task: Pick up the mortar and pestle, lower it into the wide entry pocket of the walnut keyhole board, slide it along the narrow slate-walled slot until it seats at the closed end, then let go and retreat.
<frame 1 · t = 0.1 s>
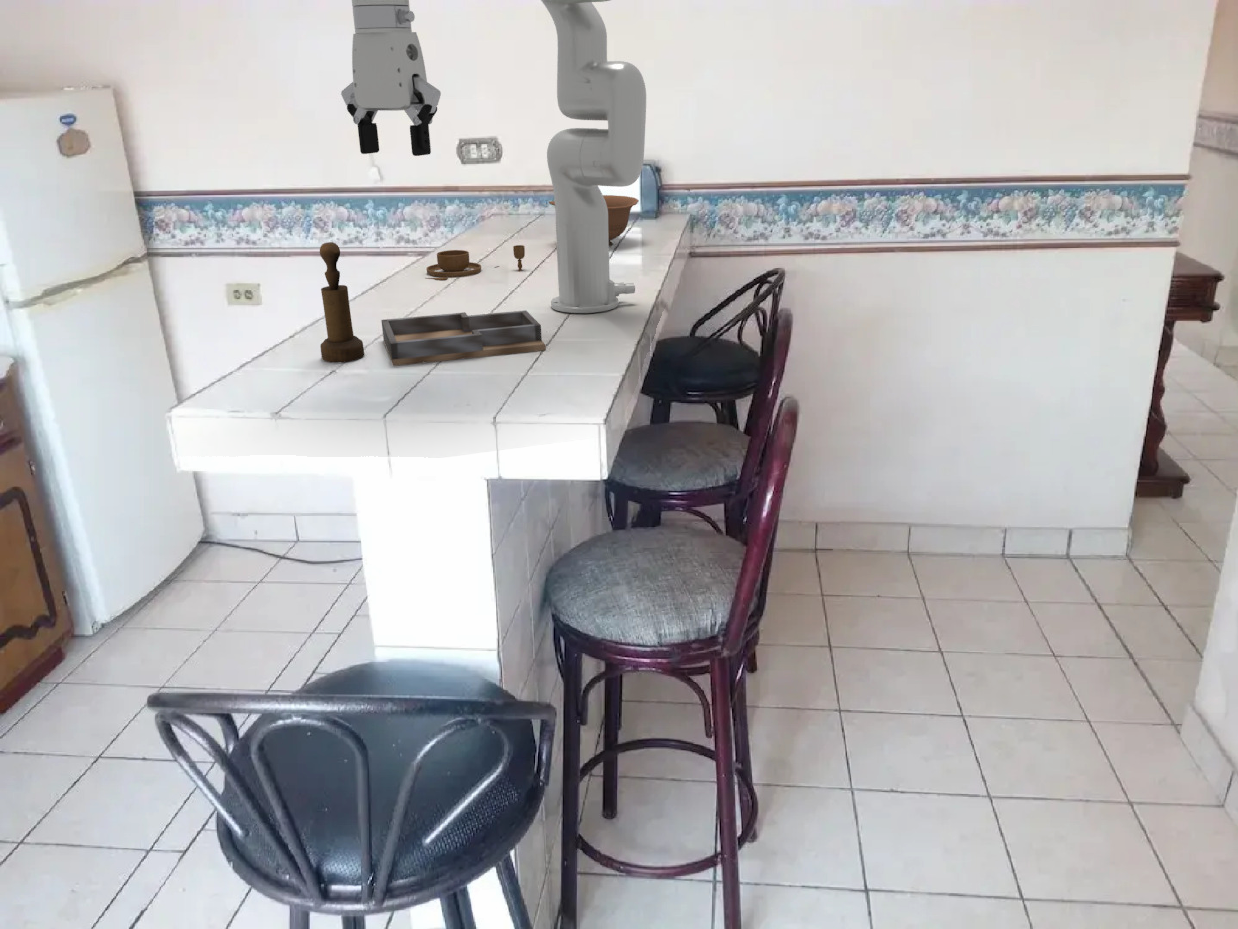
hand: (395, 153, 143), 31 cm above the countertop, tool pointing down, fingers open, 9 cm apart
place setting: (470, 276, 221), on the countertop
bowl: (594, 245, 251), on the countertop
keyhole board: (462, 345, 166), on the countertop
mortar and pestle: (343, 358, 161), on the countertop
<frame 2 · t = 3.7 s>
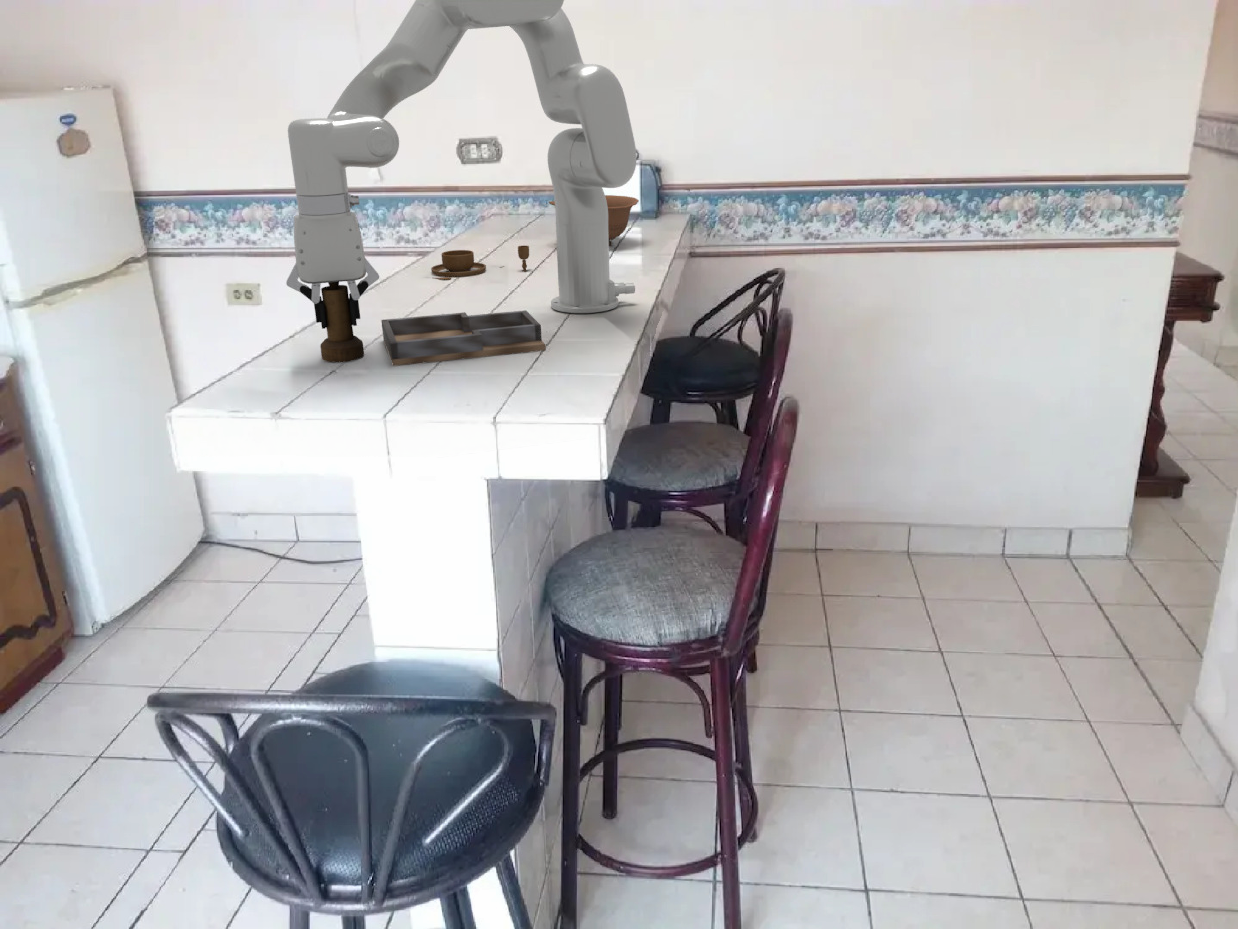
hand: (338, 324, 159), 5 cm above the countertop, tool pointing down, fingers closed on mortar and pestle, 4 cm apart
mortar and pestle: (343, 358, 161), on the countertop, touching gripper
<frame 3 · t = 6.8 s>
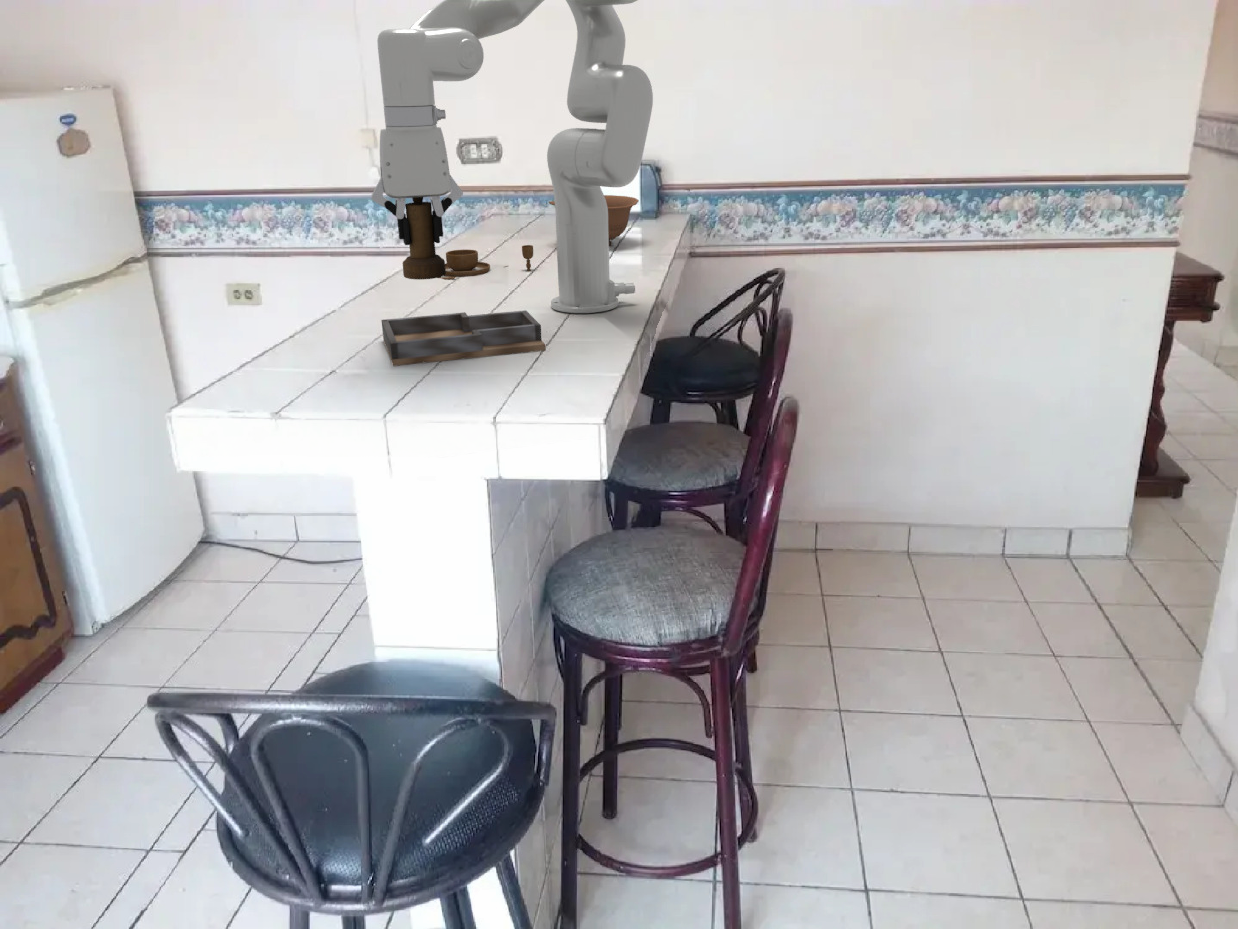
hand: (421, 241, 158), 17 cm above the countertop, tool pointing down, fingers closed on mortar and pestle, 4 cm apart
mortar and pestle: (424, 276, 160), point 12 cm above the countertop, touching gripper
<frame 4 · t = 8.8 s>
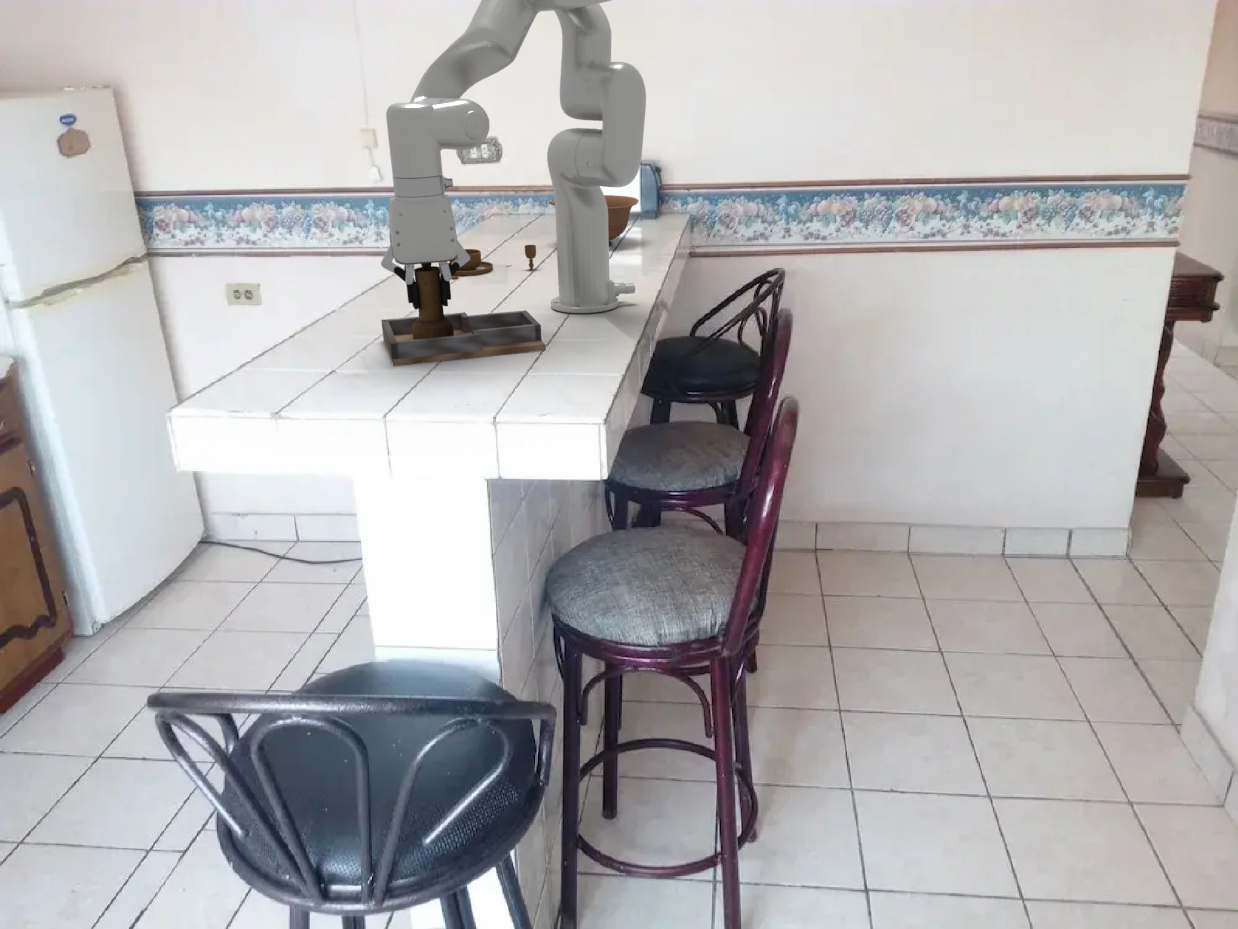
hand: (430, 304, 162), 7 cm above the countertop, tool pointing down, fingers closed on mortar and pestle, 4 cm apart
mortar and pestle: (433, 338, 164), point 2 cm above the countertop, touching gripper
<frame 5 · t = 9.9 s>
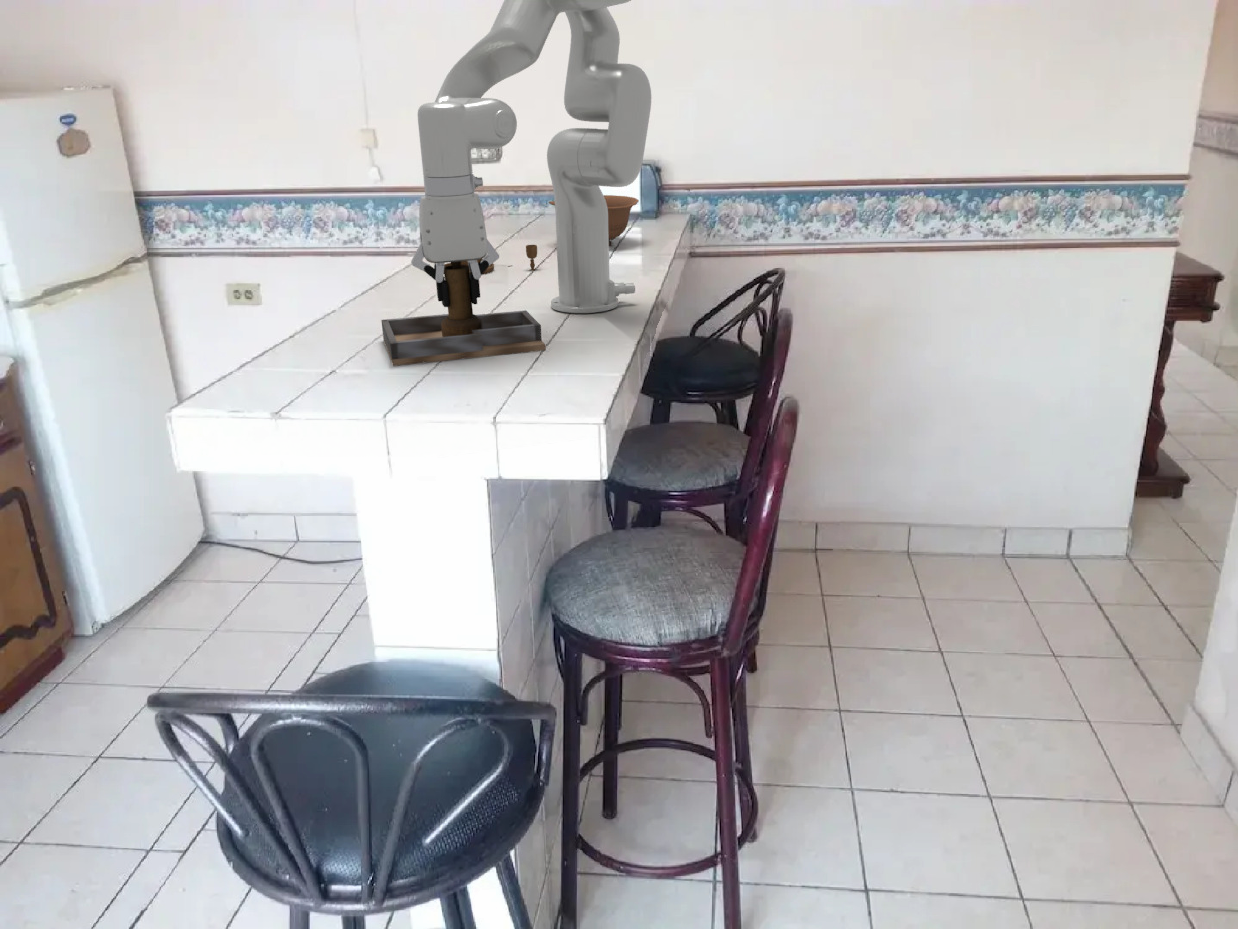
hand: (459, 302, 163), 7 cm above the countertop, tool pointing down, fingers closed on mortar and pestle, 4 cm apart
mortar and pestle: (462, 336, 165), point 1 cm above the countertop, touching gripper
when the fingers open (7 cm above the countertop, at t = 12.6 s): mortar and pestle stays where it is, resting on keyhole board.
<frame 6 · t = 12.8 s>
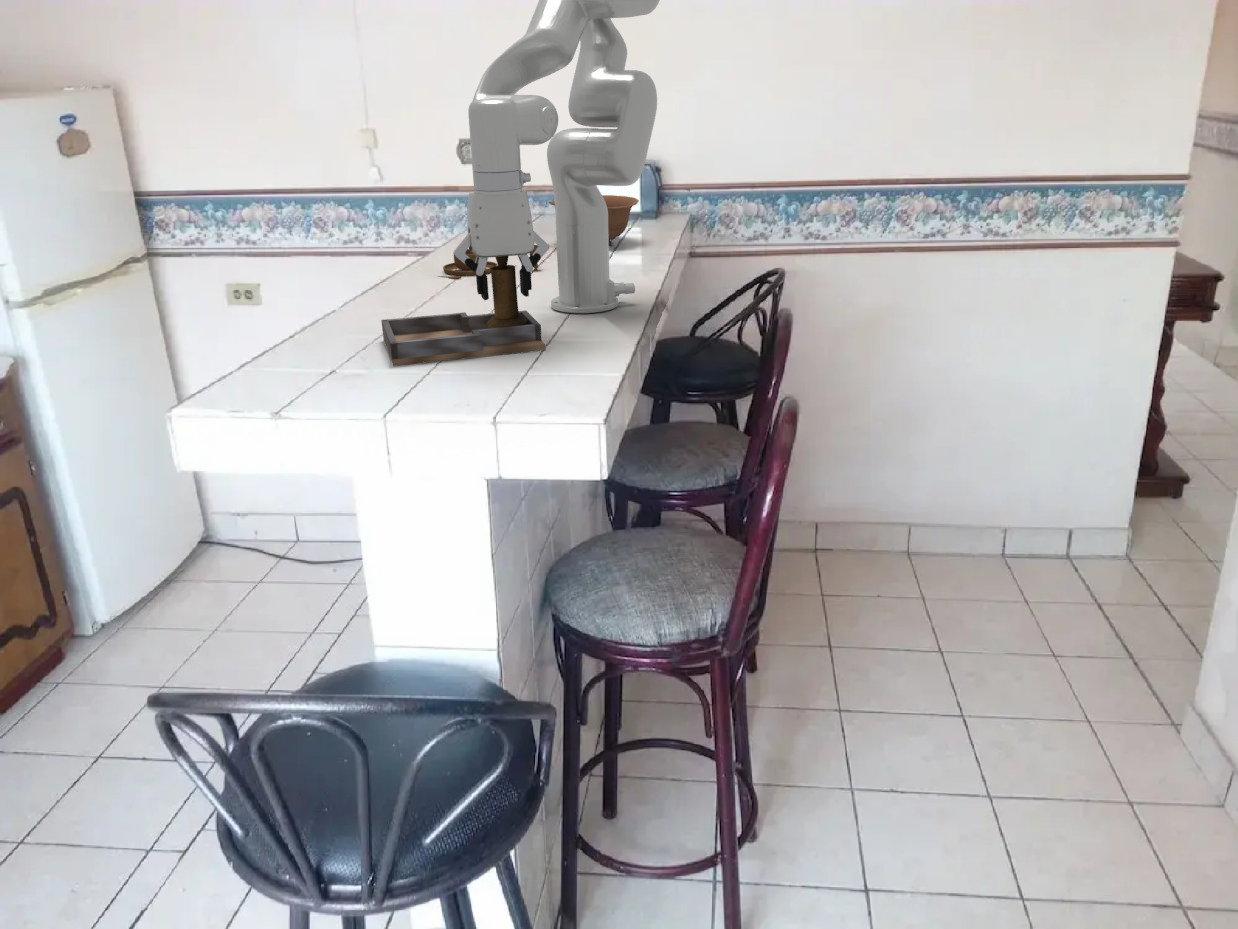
hand: (504, 295, 165), 8 cm above the countertop, tool pointing down, fingers open, 6 cm apart
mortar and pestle: (508, 335, 167), point 1 cm above the countertop, touching keyhole board
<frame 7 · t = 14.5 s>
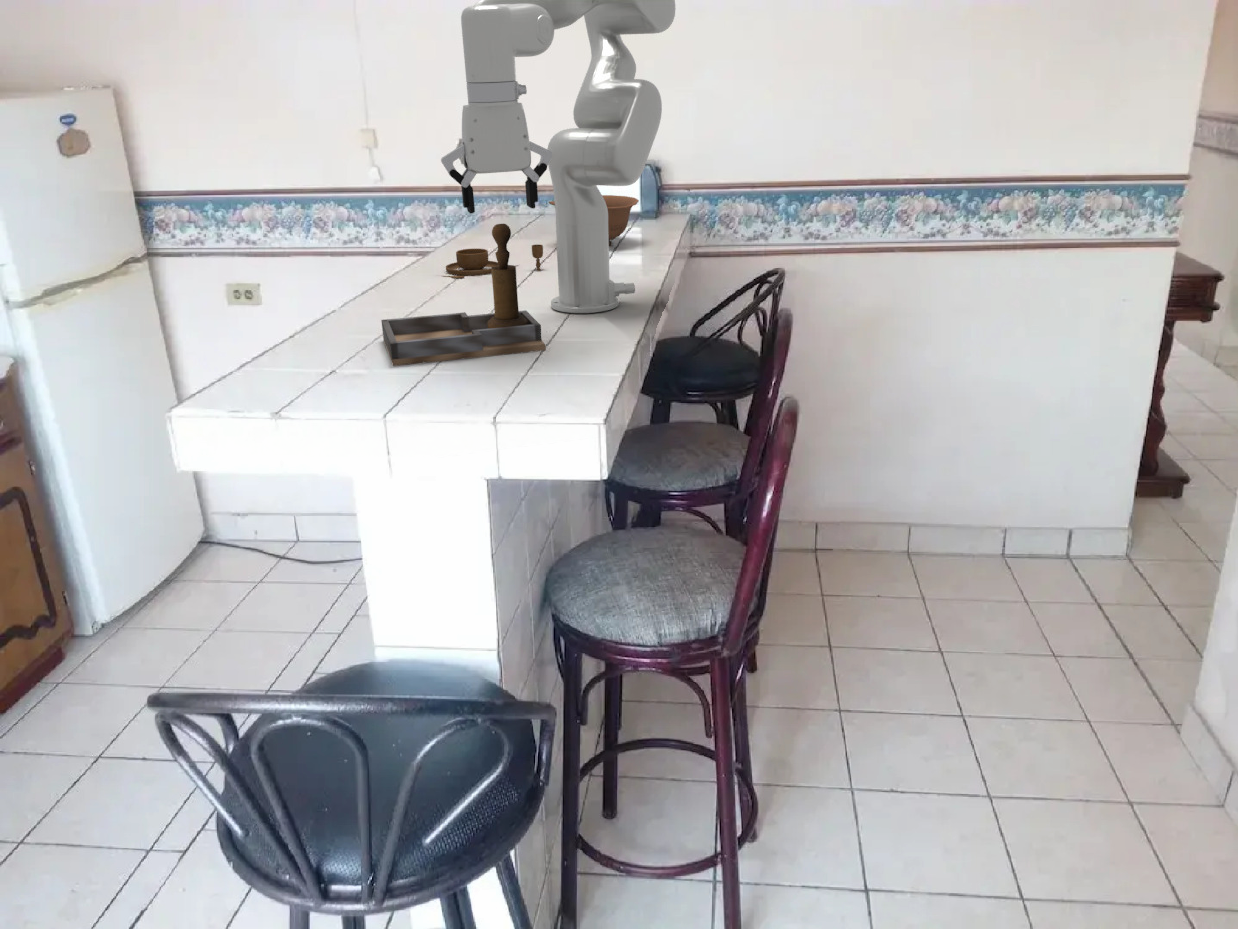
hand: (501, 209, 160), 21 cm above the countertop, tool pointing down, fingers open, 9 cm apart
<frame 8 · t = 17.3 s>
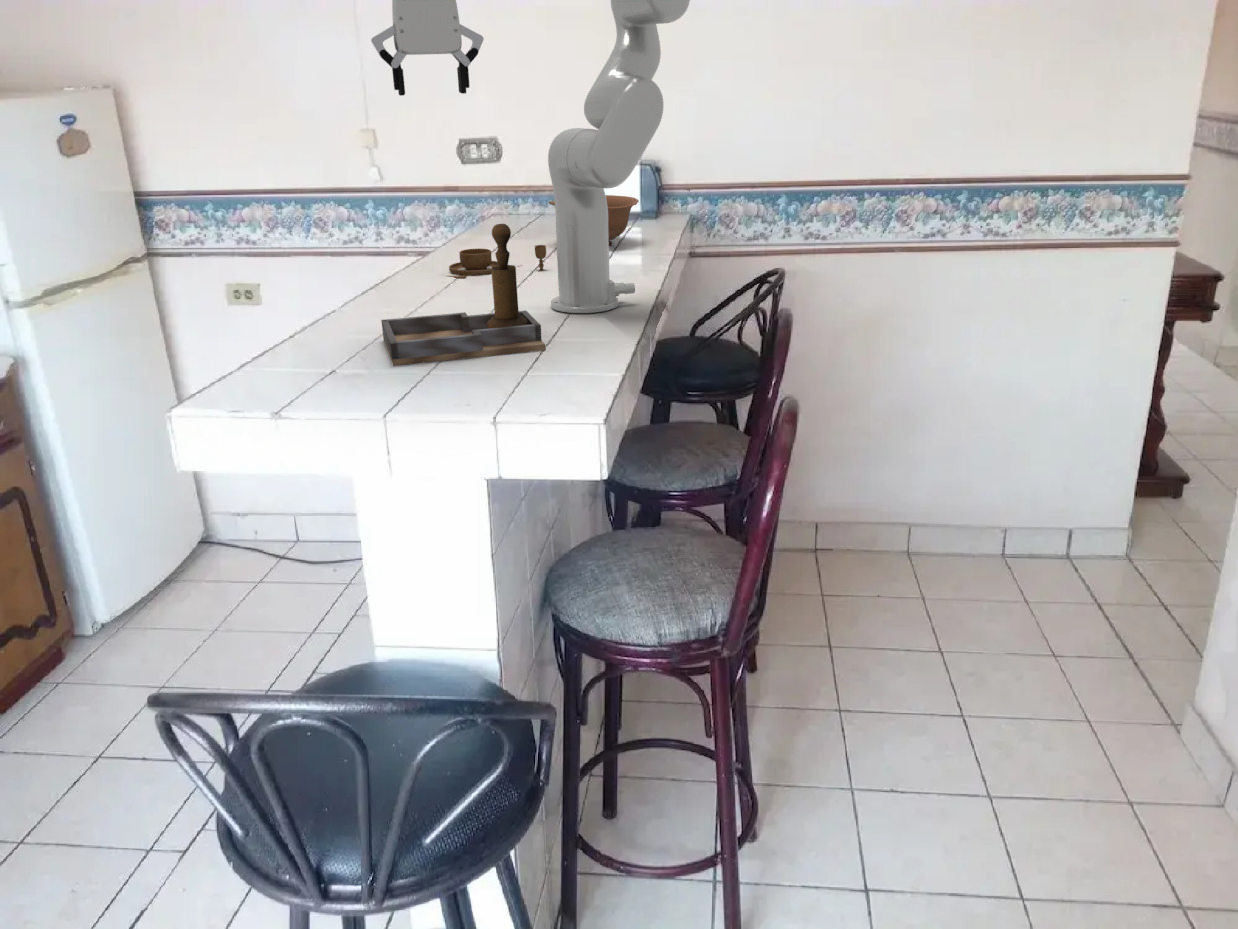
hand: (432, 94, 161), 38 cm above the countertop, tool pointing down, fingers open, 9 cm apart
at the end: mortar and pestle 0.4 cm from the target spot on the keyhole board, point 0.8 cm above the keyhole board's base; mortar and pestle tilted 0°; the gripper is holding nothing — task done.
